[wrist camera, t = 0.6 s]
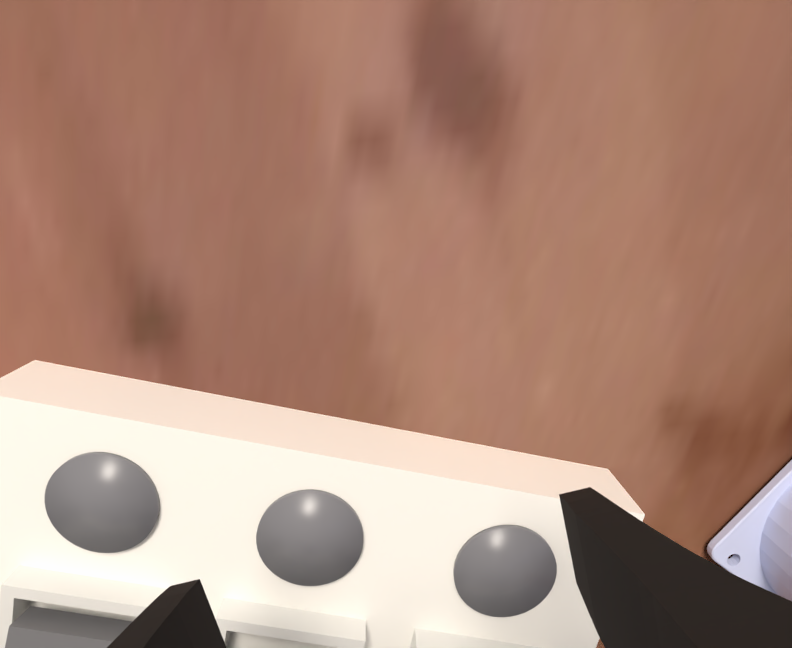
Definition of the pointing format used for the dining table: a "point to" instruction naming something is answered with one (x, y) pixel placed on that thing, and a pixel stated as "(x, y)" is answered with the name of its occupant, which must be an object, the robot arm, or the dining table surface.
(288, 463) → the rocker switch panel
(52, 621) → the rocker
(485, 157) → the dining table surface
